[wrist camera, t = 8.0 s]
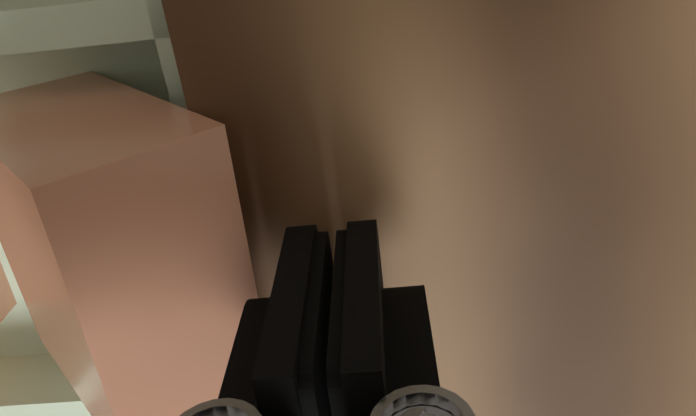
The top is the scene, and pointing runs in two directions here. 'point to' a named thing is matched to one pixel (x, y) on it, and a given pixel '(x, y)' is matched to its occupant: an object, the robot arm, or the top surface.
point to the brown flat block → (480, 176)
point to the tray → (51, 64)
